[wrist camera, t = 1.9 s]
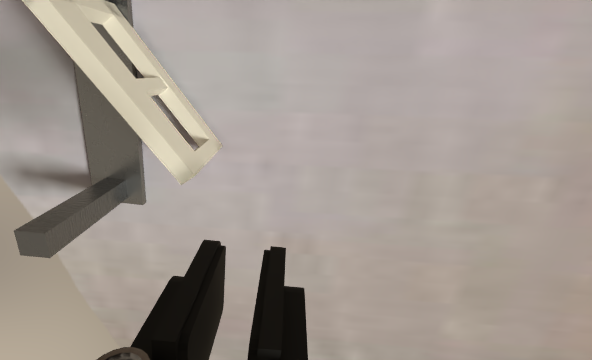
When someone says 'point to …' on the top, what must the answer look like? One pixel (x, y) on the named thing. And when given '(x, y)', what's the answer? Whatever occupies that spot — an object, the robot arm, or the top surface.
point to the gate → (129, 80)
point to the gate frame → (93, 165)
